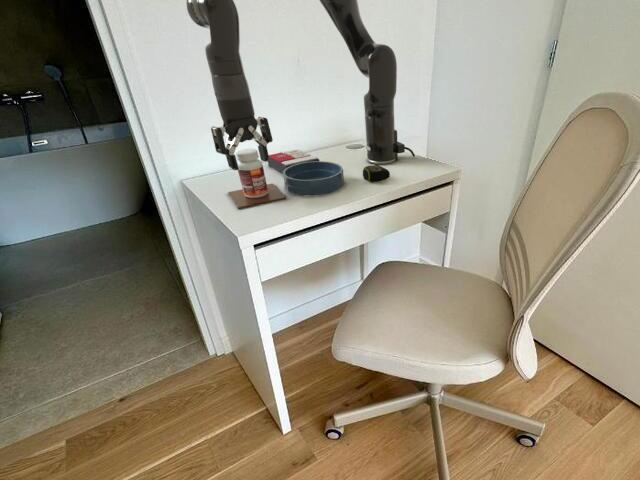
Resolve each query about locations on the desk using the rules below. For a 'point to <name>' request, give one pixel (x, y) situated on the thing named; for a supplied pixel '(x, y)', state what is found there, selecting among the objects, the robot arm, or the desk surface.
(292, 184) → the bowl
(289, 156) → the calculator
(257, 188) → the pill bottle
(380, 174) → the tape measure
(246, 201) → the coaster
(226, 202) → the desk surface
